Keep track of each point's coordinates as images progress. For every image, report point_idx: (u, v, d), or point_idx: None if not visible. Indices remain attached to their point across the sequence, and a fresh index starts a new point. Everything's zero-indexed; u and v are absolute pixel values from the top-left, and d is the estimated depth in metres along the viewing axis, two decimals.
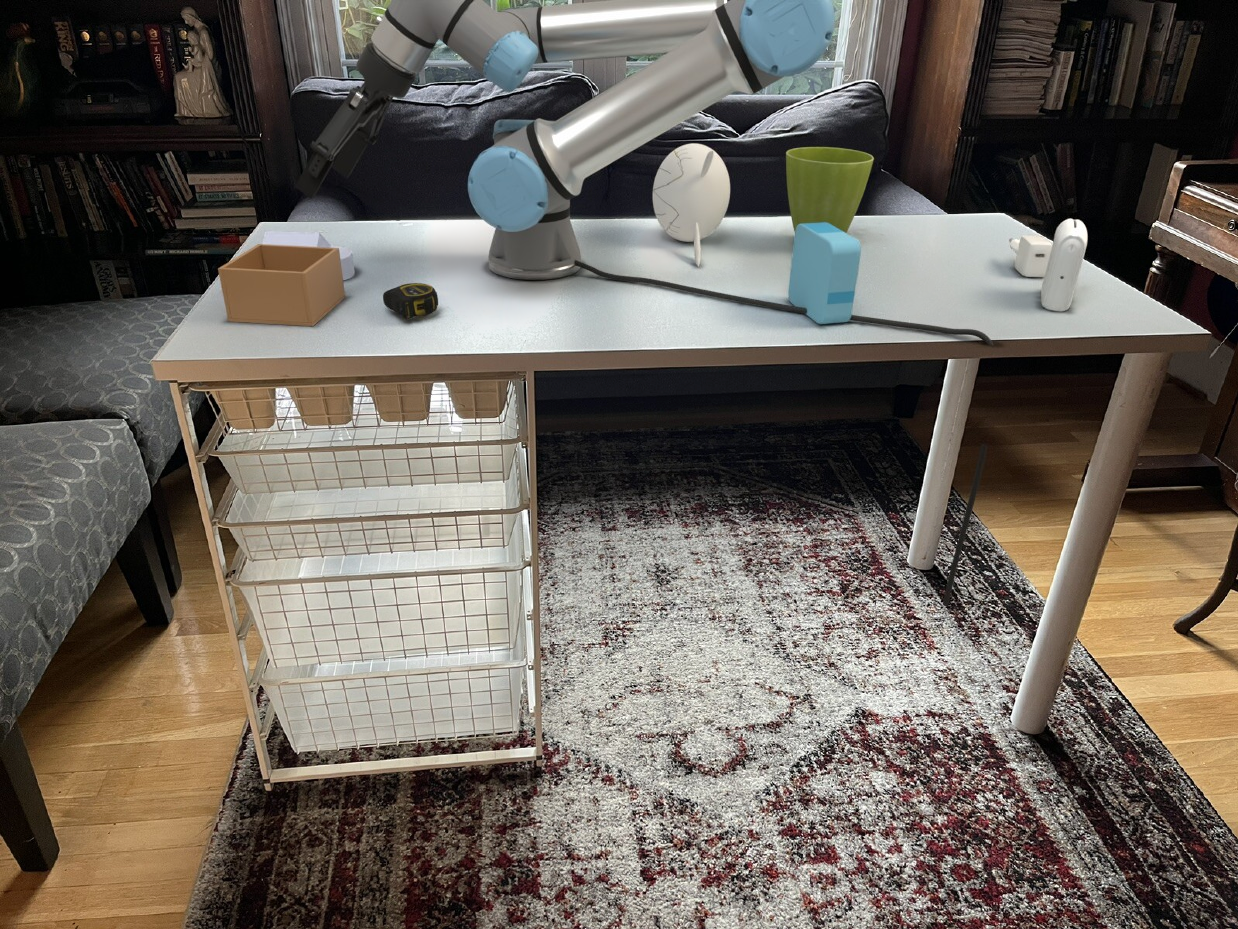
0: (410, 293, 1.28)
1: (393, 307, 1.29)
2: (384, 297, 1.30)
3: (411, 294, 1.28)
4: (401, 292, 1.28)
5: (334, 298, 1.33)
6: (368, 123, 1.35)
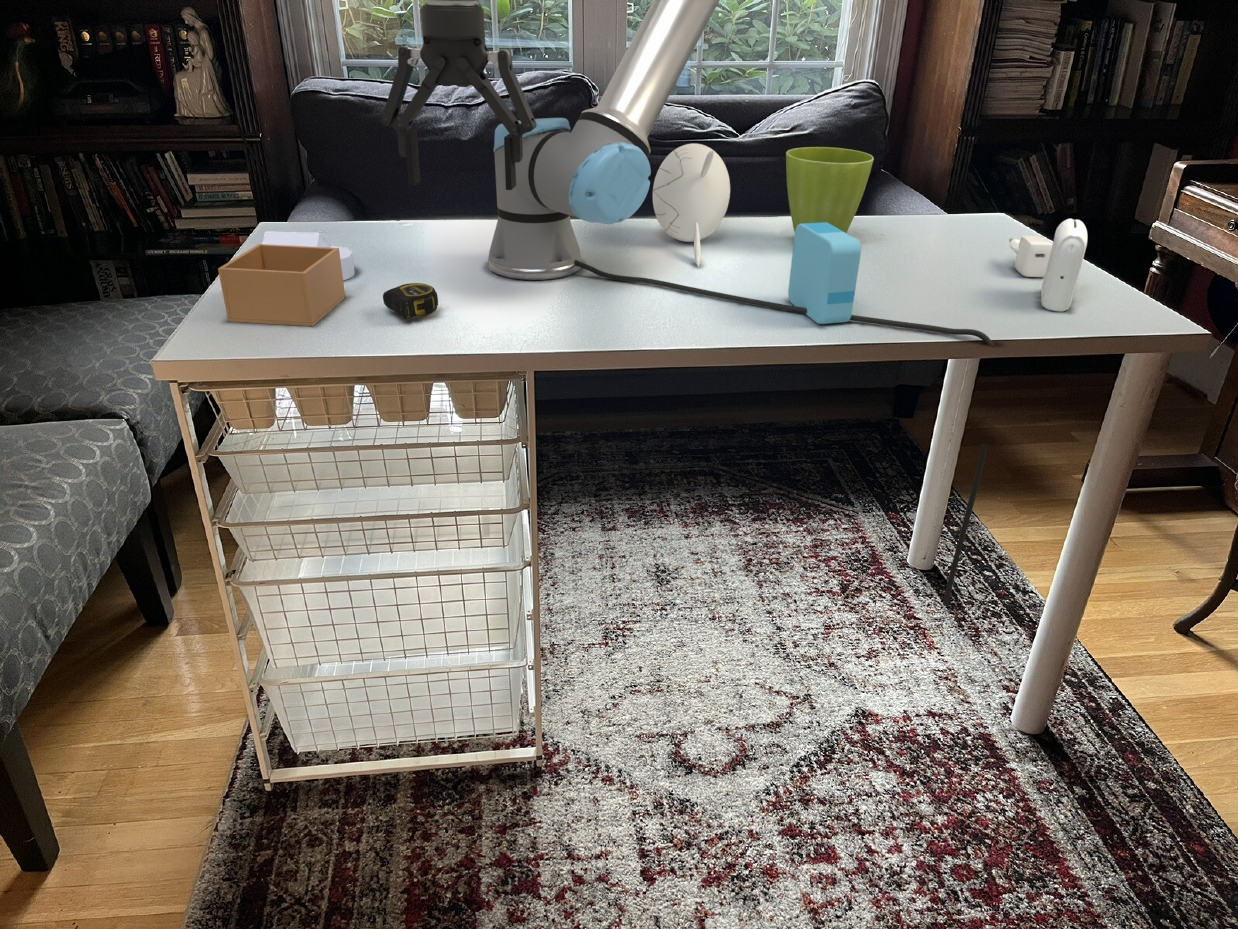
0: (410, 293, 1.28)
1: (393, 307, 1.29)
2: (384, 297, 1.30)
3: (411, 294, 1.28)
4: (401, 292, 1.28)
5: (334, 298, 1.33)
6: (424, 102, 1.17)
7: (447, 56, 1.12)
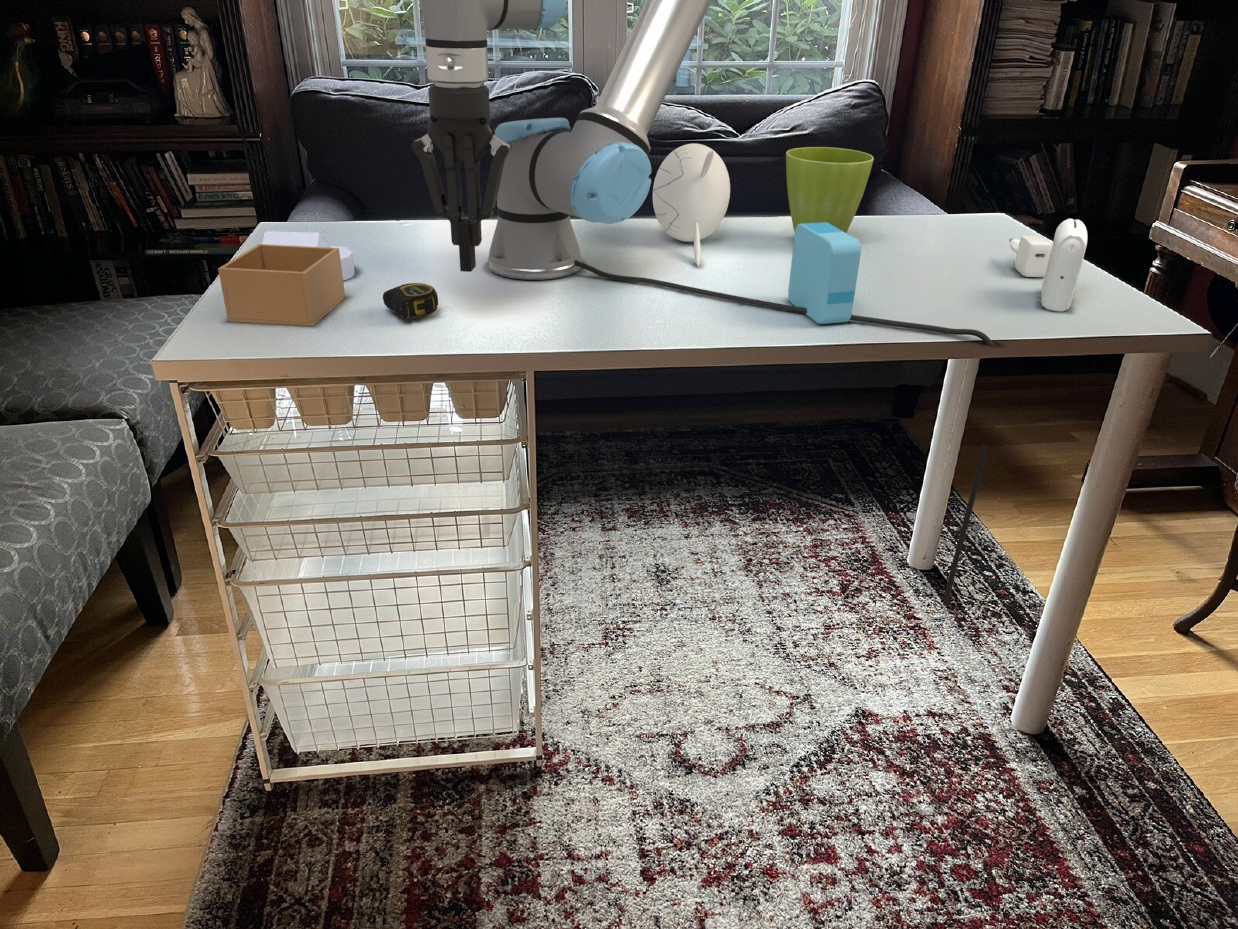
0: (410, 293, 1.28)
1: (393, 307, 1.29)
2: (384, 297, 1.30)
3: (411, 294, 1.28)
4: (401, 292, 1.28)
5: (334, 298, 1.33)
6: (459, 184, 1.21)
7: (449, 121, 1.16)
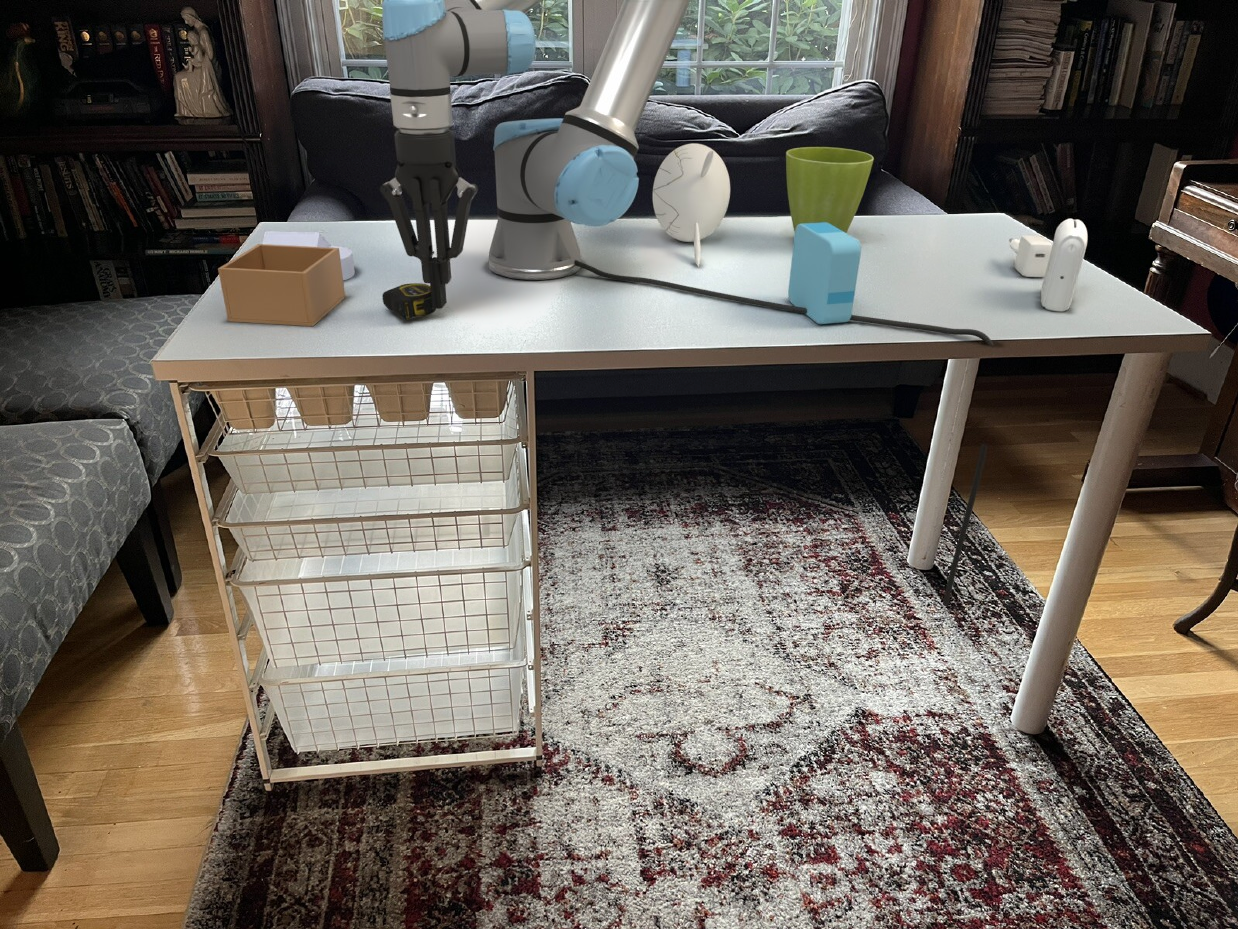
0: (409, 293, 1.28)
1: (393, 307, 1.29)
2: (384, 297, 1.30)
3: (411, 294, 1.28)
4: (400, 292, 1.28)
5: (334, 298, 1.33)
6: (428, 224, 1.24)
7: (416, 165, 1.19)
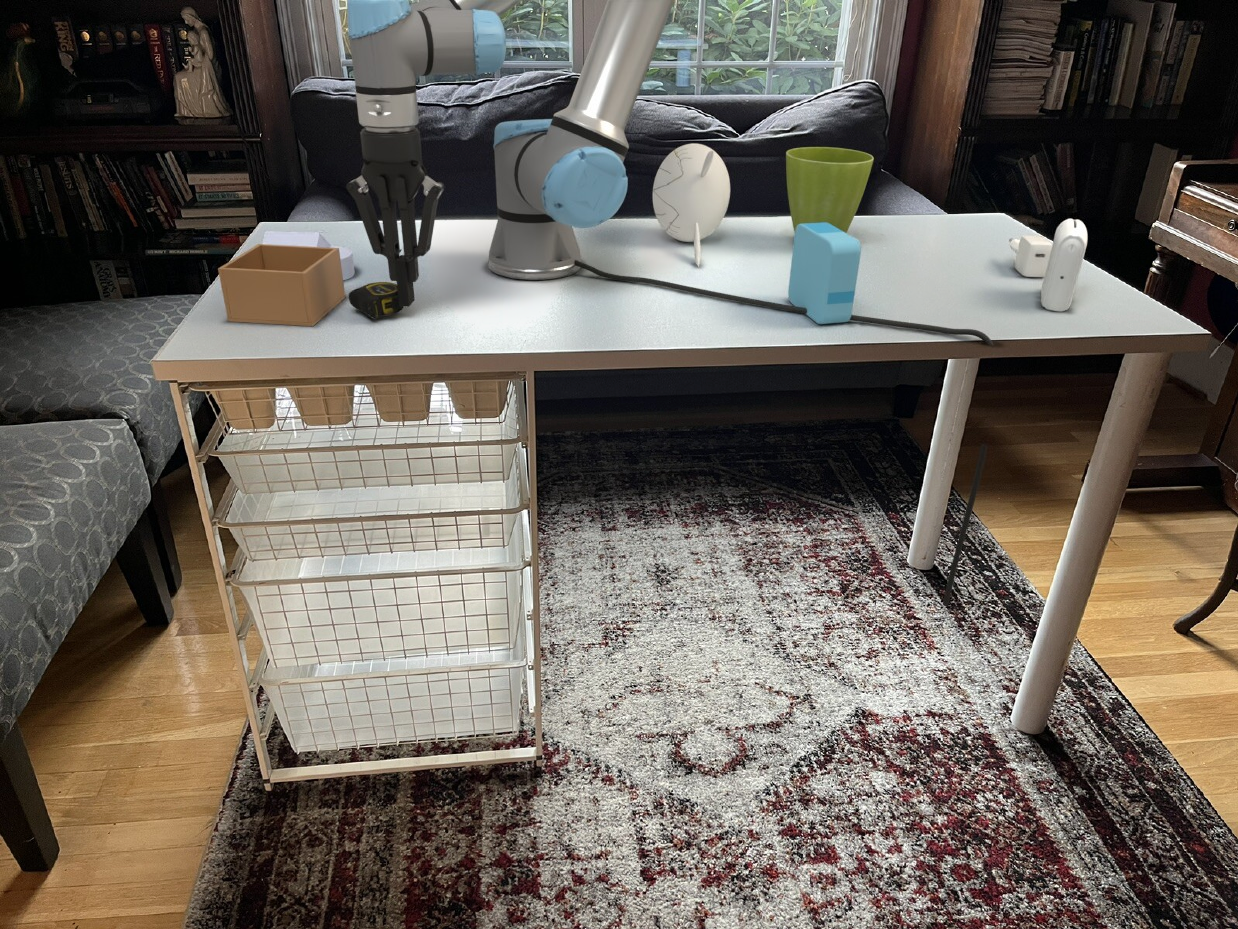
0: (377, 292, 1.29)
1: (360, 306, 1.29)
2: (350, 297, 1.30)
3: (379, 292, 1.28)
4: (368, 291, 1.28)
5: (334, 298, 1.33)
6: (395, 222, 1.25)
7: (382, 163, 1.19)
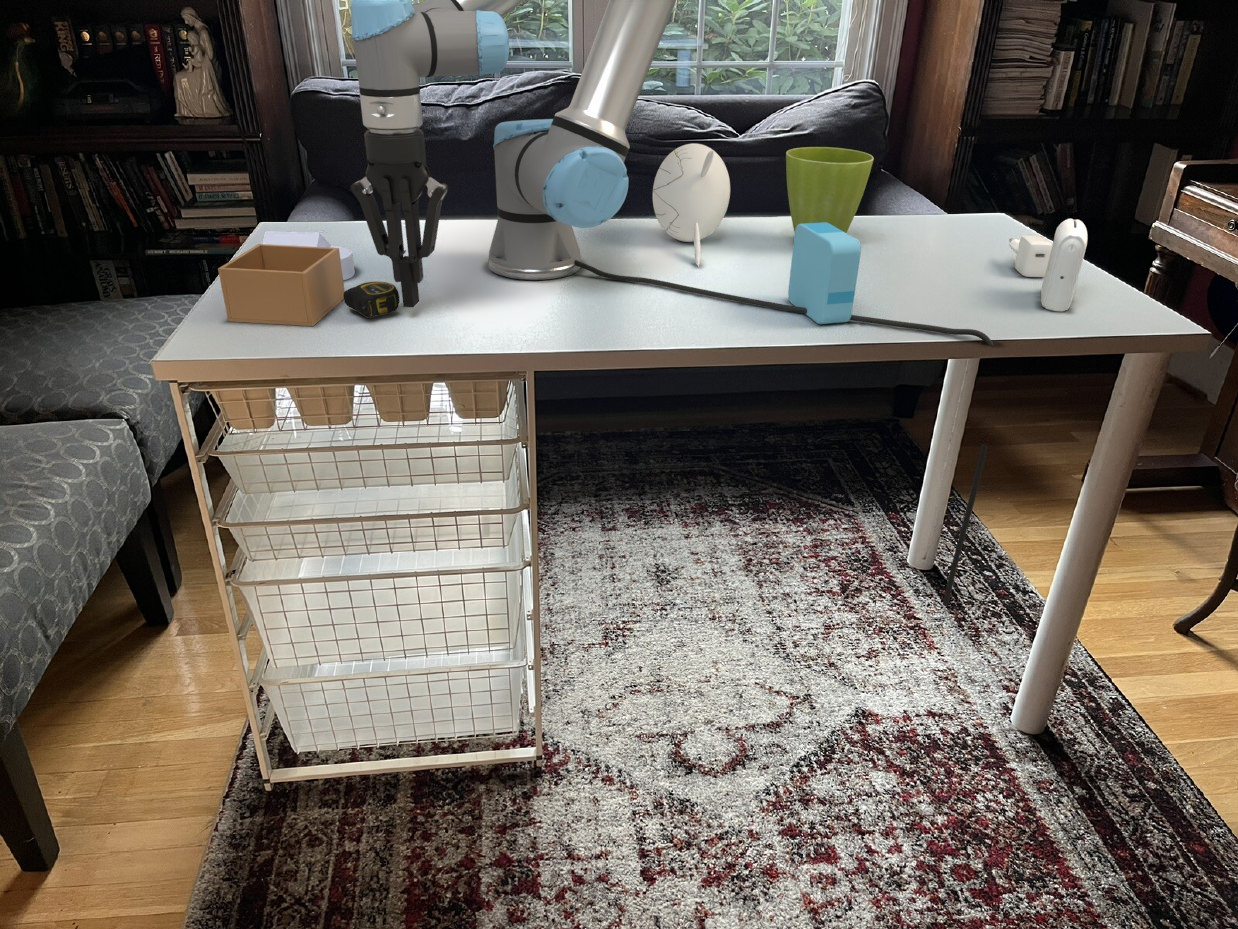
0: (371, 291, 1.29)
1: (355, 306, 1.29)
2: (345, 296, 1.30)
3: (373, 292, 1.28)
4: (362, 291, 1.28)
5: (334, 298, 1.33)
6: (399, 223, 1.25)
7: (386, 164, 1.19)
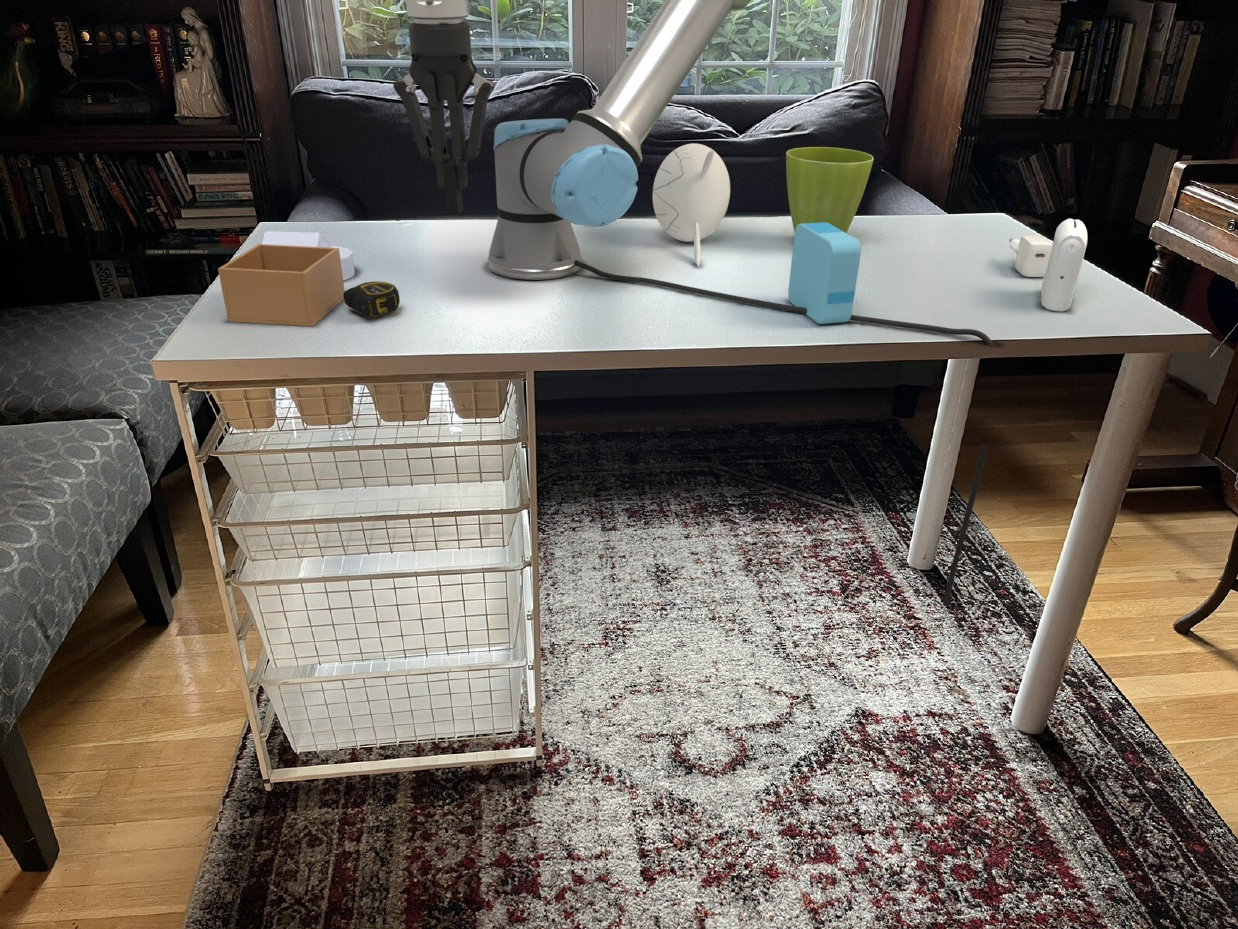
0: (371, 291, 1.29)
1: (355, 306, 1.29)
2: (345, 296, 1.30)
3: (373, 292, 1.28)
4: (362, 291, 1.28)
5: (334, 298, 1.33)
6: (443, 125, 1.20)
7: (431, 59, 1.15)
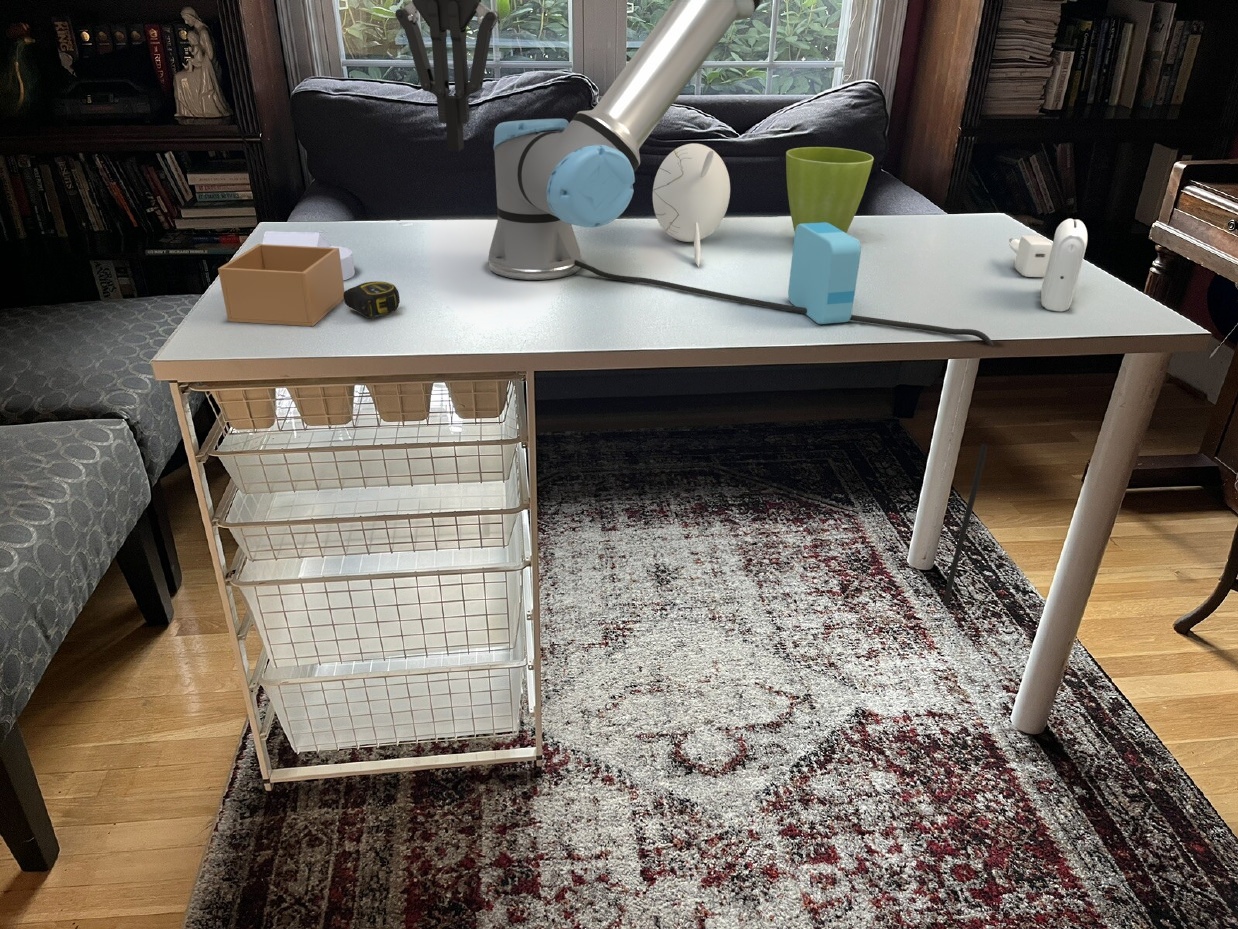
0: (371, 291, 1.29)
1: (355, 306, 1.29)
2: (345, 296, 1.30)
3: (373, 292, 1.28)
4: (362, 291, 1.28)
5: (334, 298, 1.33)
6: (446, 57, 1.18)
7: None
